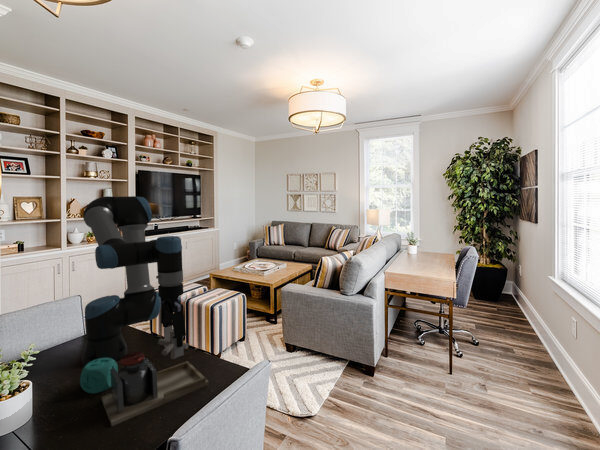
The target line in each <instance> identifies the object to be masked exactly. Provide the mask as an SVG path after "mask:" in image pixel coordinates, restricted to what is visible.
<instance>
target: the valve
mask: <svg viewBox="0 0 600 450" xmlns="http://www.w3.org/2000/svg"><path fill="white" fill-rule="evenodd" d="M120 365H121V366H123V367H122V368H121V369H120V370H118V373H117V371H116V370H115V368H114V369H111V370H110V373H111V387H110V390H111V393H112V399H113V401H114V403H115V405H116V408H117V410H118V412H119V414H120V413H122V412H124V406H133V405H136V404H139V403H141V402H143V401H144V400H146V399H147V398H148V396H149V393H150V395H151V396H152V398H153V399H156V398H158V390H157V372H158V371H157V368H156V367H155V366H154V365H153V364H152V362H151V361H150V359H149V358H148V357H146V358H145V353H144V352H142V351H136V352H134V351H133V352H130V353H127V354H126V355H125V356H123V357H122V358H121V359H120Z"/></svg>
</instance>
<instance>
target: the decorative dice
mask: <svg viewBox="0 0 600 450" xmlns="http://www.w3.org/2000/svg"><path fill="white" fill-rule="evenodd" d="M114 368H115V370H116V371H117V373H118V372H119V366H118V363H117V361H114V360H113V359H111V358H99V359H96V360H93V361H91V362H89V363H88V364H86V365H84V366H83V369H82V370H81V373H80V378H79V385H80V388H81V390H83V391H84V392H86V393H88V394H98V393H101V392H102V393H103V392H104V391H107V390H109V389H111V373H110V370H111V369H114Z"/></svg>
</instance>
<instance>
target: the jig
mask: <svg viewBox="0 0 600 450" xmlns="http://www.w3.org/2000/svg"><path fill="white" fill-rule="evenodd" d="M209 385H210V383H209V380H208V379H207V378H206V377H205V376H204V375H203V374H202V373H201V372H200V371H199V370H198V369H197V368H195V366H194V365H193V364H192V363H191V362H190V361H189V360H186V361H183V362H182V363H178V364H175V365H173V366H169V367H167V368H163V369H162V370H159V371H157V390H158V398H156V399H153V398H152V396H151V395H150V393H149V396H148V398H147V399H146V400H144V401H143V402H141V403H139V404H136V405H133V406H124V412H122V413H120V414H119V412H118V410H117V408H116V405H115V403H114V401H113V399H112V392H111V393H106V394H105V395H103V396H101V402H102V405H103V407H104V409H105V413H106V415H107V417H108V421H109V423H110V426H111V427H114V426H117V425H118V424H121V423H123V422H126V421H127V420H130V419H133V418H134V417H137V416H140V415H142V414H144V413H146V412H149V411H151V410H153V409H155V408H158V407H161V406H163V405H165V404H167V403H170V402H172V401H174V400H177V399H179V398H181V397H183V396H186V395H188V394H191V393H193V392H195V391H198V390H201V389H202V388H204V387H207V386H209Z"/></svg>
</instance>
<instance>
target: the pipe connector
mask: <svg viewBox="0 0 600 450" xmlns="http://www.w3.org/2000/svg"><path fill="white" fill-rule="evenodd" d="M174 336H175V335H174V330H173V328H172V329H171V330H170V340H165V339H164V338H159V339H158V341H157V345H161V346H164V345H165V346H167V347H164V349H163V350H162V351H161V355H162V356H167V355H168V354H169V353H170V359H171V360H175V359H176V358H175V357H174V339H173V338H172V337H174ZM184 337H185V336H183V339H184ZM188 348H189V343H188V342H183V349H184V350H187V349H188Z"/></svg>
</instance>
